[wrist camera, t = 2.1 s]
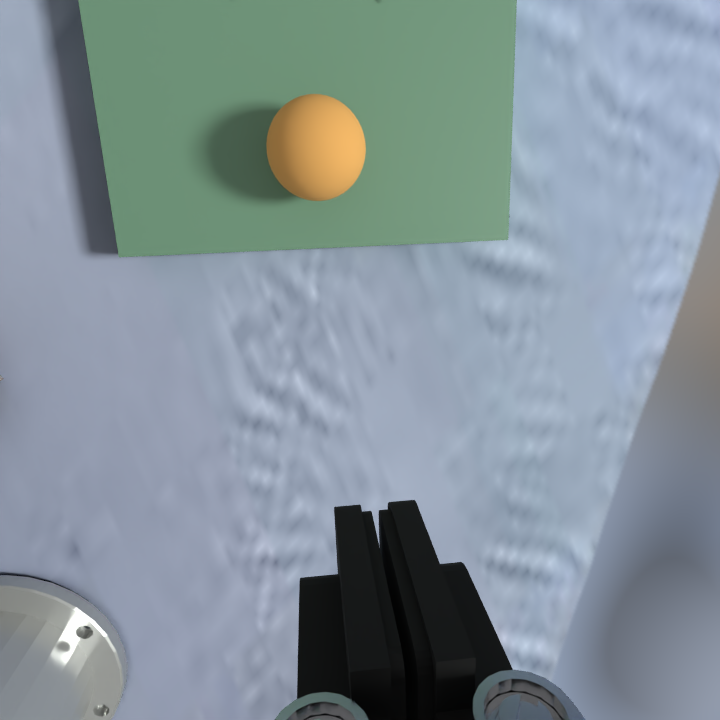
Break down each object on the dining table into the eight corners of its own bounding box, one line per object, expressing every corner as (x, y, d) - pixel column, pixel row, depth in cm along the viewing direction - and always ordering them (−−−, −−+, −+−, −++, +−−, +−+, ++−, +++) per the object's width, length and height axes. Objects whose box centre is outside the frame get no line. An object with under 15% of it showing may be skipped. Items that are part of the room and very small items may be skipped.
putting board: (493, 238, 26) (508, 239, 25) (133, 254, 25) (119, 257, 23) (506, -254, 21) (527, -302, 19) (52, -278, 20) (25, -332, 18)
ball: (361, 201, 23) (373, 196, 20) (273, 204, 23) (267, 200, 19) (358, 105, 22) (370, 80, 18) (265, 107, 22) (257, 82, 18)
